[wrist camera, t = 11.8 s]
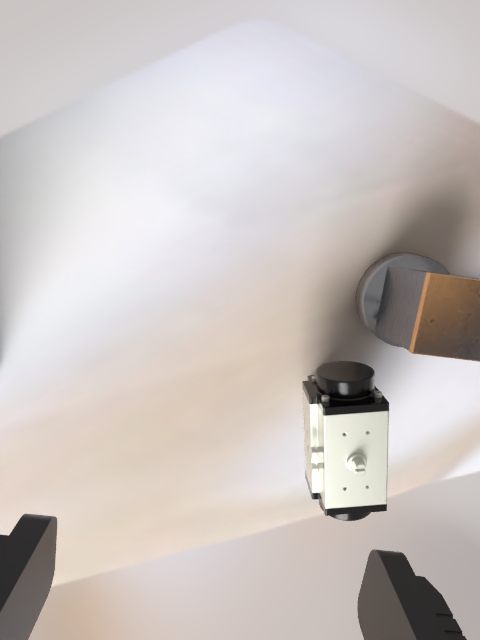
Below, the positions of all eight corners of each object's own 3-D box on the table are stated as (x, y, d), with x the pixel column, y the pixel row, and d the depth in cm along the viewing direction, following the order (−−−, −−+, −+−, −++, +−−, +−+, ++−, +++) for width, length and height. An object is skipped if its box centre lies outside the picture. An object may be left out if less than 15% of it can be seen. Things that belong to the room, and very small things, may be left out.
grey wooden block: (387, 265, 37) (430, 272, 30) (450, 274, 38) (506, 283, 31) (373, 331, 38) (412, 353, 31) (435, 339, 39) (486, 362, 32)
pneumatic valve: (348, 338, 42) (395, 390, 30) (348, 451, 45) (392, 537, 33) (288, 343, 42) (313, 396, 30) (293, 455, 45) (317, 543, 33)
